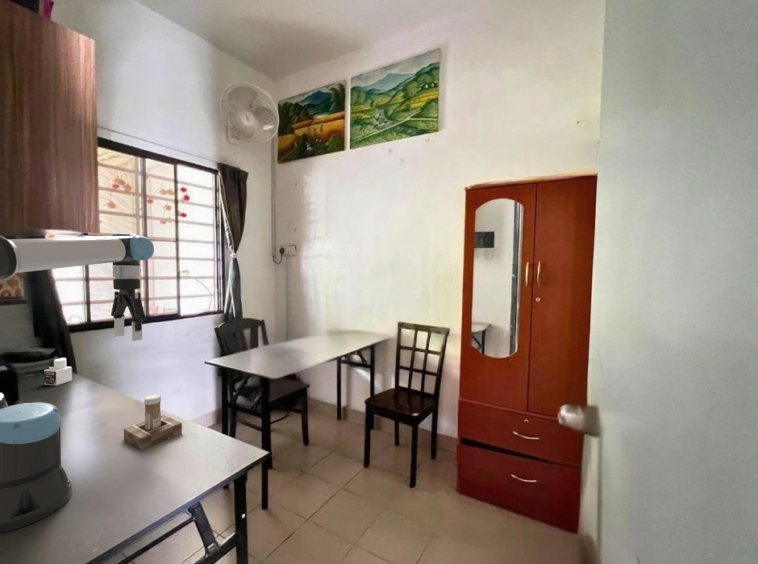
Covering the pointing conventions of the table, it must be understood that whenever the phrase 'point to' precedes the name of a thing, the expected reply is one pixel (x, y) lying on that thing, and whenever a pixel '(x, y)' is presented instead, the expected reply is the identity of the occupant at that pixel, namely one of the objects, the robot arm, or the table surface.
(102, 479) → the table surface
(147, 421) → the sprinkles bottle
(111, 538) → the table surface
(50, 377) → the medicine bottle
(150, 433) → the socket
